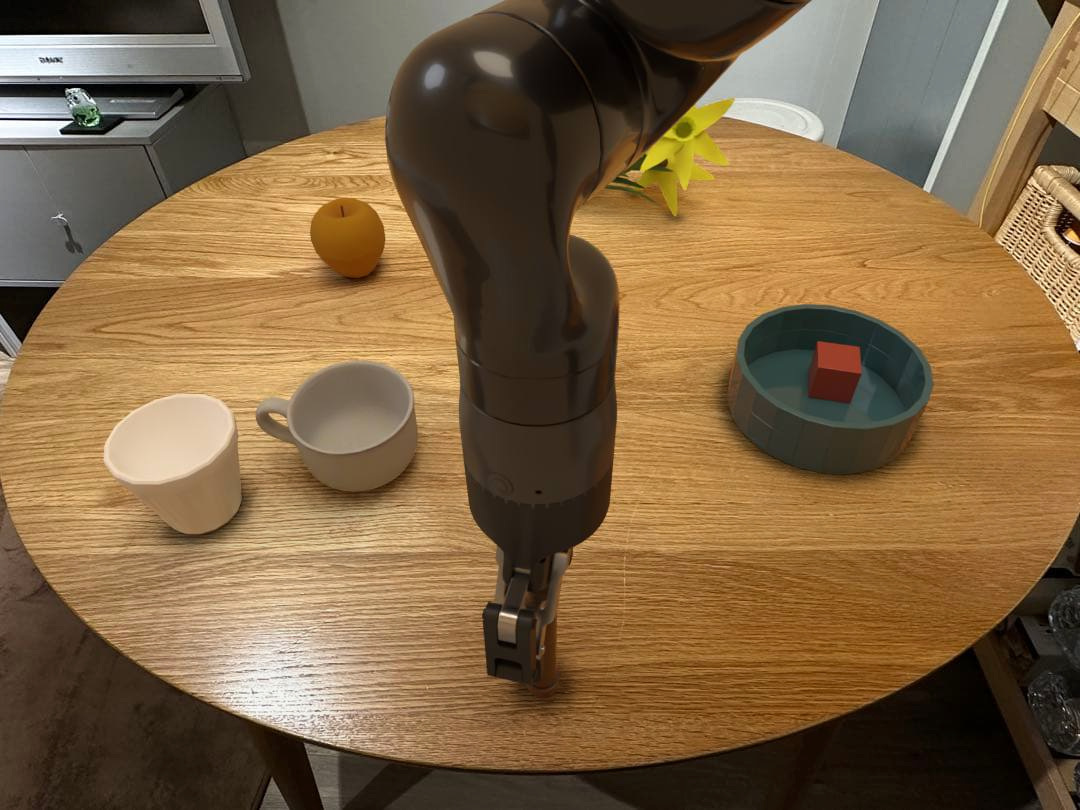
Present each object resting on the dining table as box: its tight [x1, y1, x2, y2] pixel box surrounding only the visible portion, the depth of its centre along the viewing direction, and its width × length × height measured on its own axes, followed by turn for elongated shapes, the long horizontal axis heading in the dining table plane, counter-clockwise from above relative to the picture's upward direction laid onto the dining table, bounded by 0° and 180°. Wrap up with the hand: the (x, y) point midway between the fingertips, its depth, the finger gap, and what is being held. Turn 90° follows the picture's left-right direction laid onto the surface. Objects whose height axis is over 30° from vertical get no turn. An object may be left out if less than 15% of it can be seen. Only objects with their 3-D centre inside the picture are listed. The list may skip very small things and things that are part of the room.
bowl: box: [726, 303, 935, 475], centre depth 73 cm, size 17×18×6 cm
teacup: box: [255, 359, 419, 493], centre depth 68 cm, size 14×11×8 cm
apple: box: [309, 197, 386, 279], centre depth 90 cm, size 8×8×9 cm
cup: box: [103, 393, 243, 536], centre depth 64 cm, size 10×10×9 cm
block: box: [808, 341, 862, 403], centre depth 75 cm, size 4×4×4 cm
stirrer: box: [525, 586, 560, 699], centre depth 51 cm, size 2×2×13 cm
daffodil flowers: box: [603, 97, 736, 217], centre depth 99 cm, size 17×15×35 cm
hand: (541, 613), depth 49 cm, fingers open, 8 cm apart
